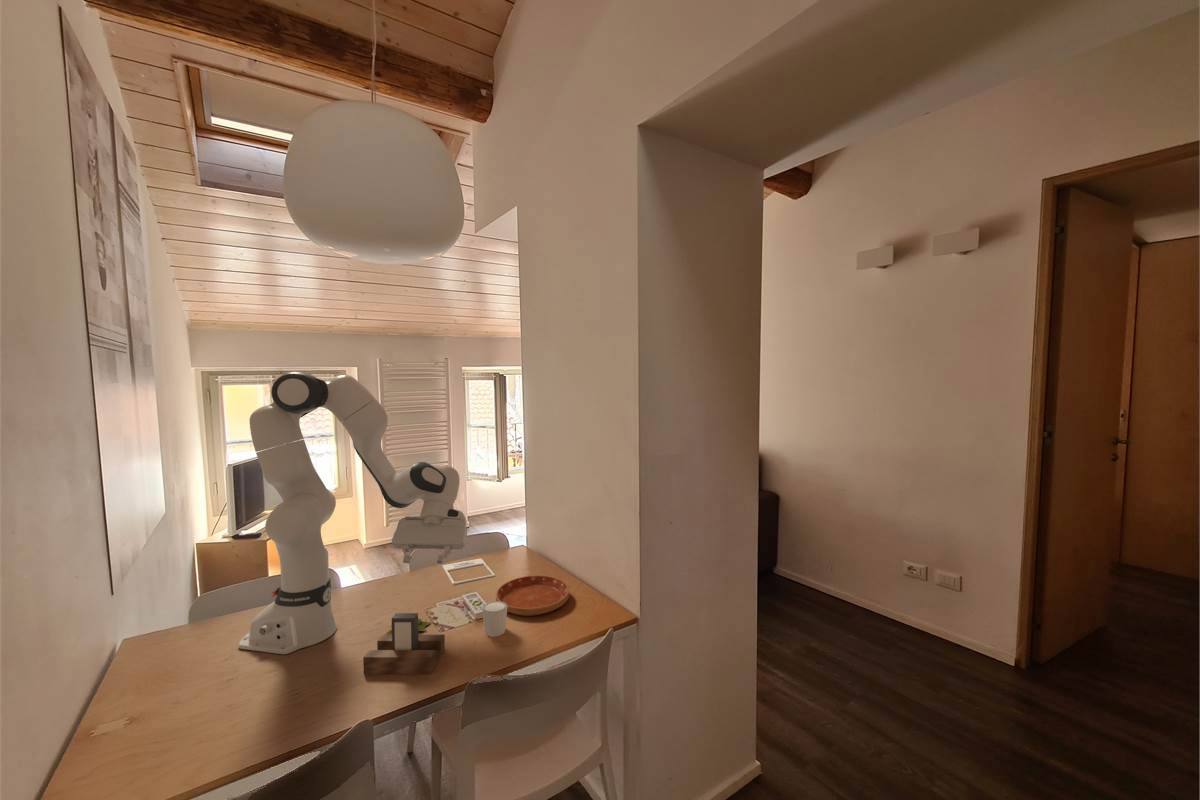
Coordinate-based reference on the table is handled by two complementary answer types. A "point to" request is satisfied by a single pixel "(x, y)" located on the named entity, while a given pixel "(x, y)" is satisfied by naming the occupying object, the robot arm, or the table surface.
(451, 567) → the photo frame
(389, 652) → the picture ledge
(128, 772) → the table surface
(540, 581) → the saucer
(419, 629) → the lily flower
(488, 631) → the white cylinder
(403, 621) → the small frame
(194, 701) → the table surface
